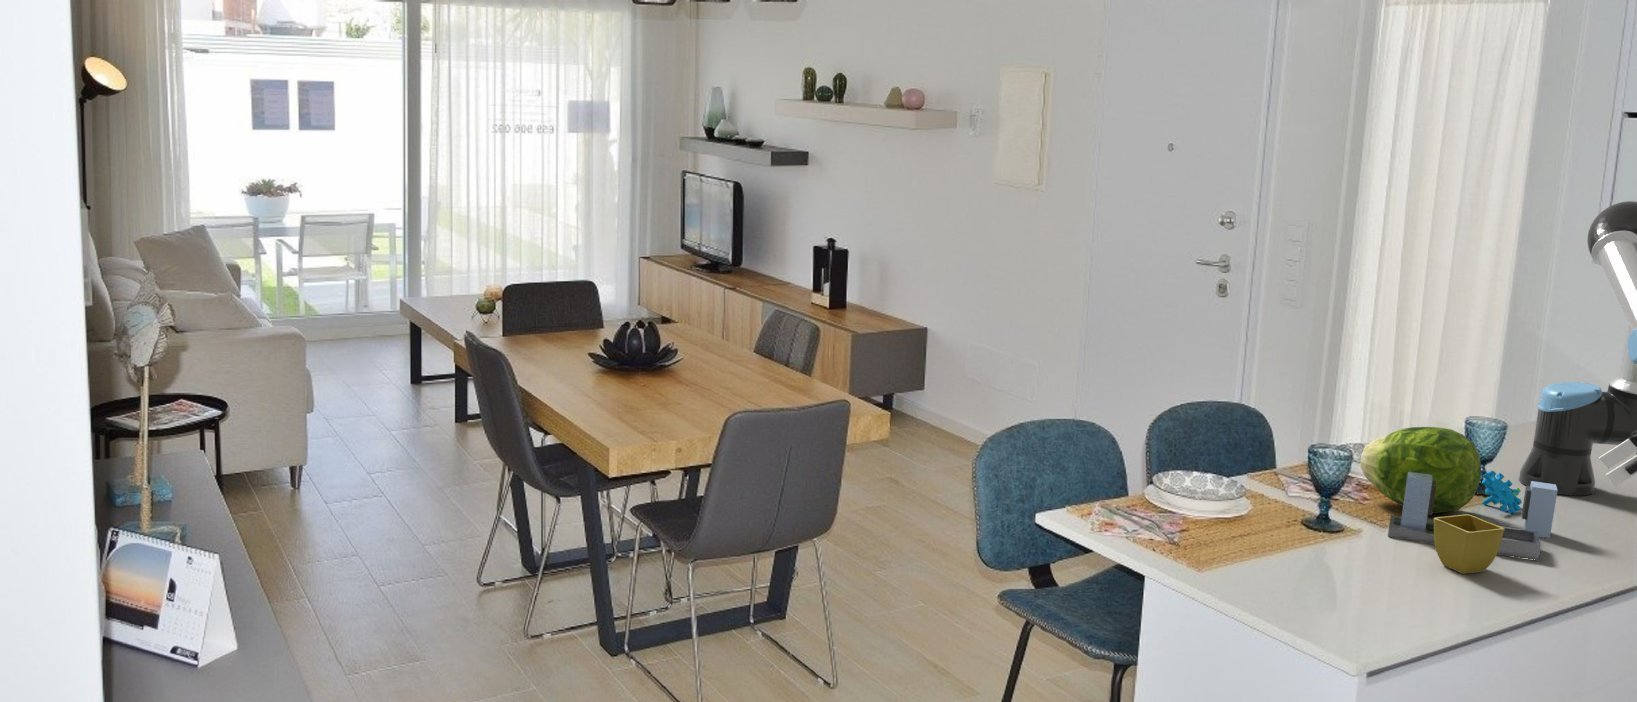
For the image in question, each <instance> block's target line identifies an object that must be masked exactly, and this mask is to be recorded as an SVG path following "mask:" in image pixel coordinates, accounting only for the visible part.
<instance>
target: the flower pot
mask: <svg viewBox="0 0 1637 702" xmlns="http://www.w3.org/2000/svg"><path fill="white" fill-rule="evenodd" d="M1433 522H1434V542H1435V544H1434V548H1435V551H1436V554H1437V556H1438V558H1439V561H1440V562H1441V564H1442V565H1443V566H1445V567H1447V568H1448V569H1451V570H1454V571H1456V572H1457V573H1460V574H1463V575H1465V574H1466V575H1467V574H1474V573H1482V572H1485V571H1486V569H1487V568H1489V567H1490V565H1491V564H1492V563H1493V562H1494V560H1495V559H1496V557H1497V553H1498V550H1499V547H1500V543H1501V540H1502V537H1503V533H1504V530H1505V529H1504V528H1502V527H1500V526H1501V525H1497V524H1495V523H1492V522H1489V521H1486V520H1484V519H1482V518H1480V517H1477V516H1474V515H1471V514H1466V513H1465V514H1457V515H1448V516H1437V517H1433Z"/></svg>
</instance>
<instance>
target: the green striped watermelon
mask: <svg viewBox="0 0 1637 702" xmlns="http://www.w3.org/2000/svg"><path fill="white" fill-rule="evenodd" d="M1481 462H1482V461H1481V456H1480V454H1479V452H1478V450H1477V449H1476V447H1475V445H1474V443H1473V442H1472V441H1471V440H1470V439H1469V438H1467V436H1465V435H1464V434H1462V433H1460V432H1459V431H1458V432H1457V431H1456V430H1454V429H1451V428H1445V427H1438V426H1437V427H1434V426H1411V427H1406V428H1401V429H1398V430H1395V431H1392V432H1391V433H1389V434H1387V435H1385V436H1382V437H1378V438H1376V439H1374V440H1373V441H1370V442H1369V443H1368V444H1367V445H1366V446H1365V447H1364V448H1363V450H1362V453H1361V457H1360V465H1359V466H1360V468H1361V469H1360V470H1361V471H1362V473H1363V475H1364V476H1365V478H1366V480H1367V481H1368V482H1370V483H1371V484H1372V485H1373V486H1375V487H1376V489H1377V490H1378V491H1379V492H1380V493H1381V494H1382V495H1383V496H1385V497H1386V498H1388V499H1389V500H1391V501H1392V502H1394V503H1396V504H1398V505H1401V506H1403V504H1404V497H1405V489H1406V482H1407V475H1408V472H1415V473H1422V474H1428V475H1432V481H1436V490H1435V497H1434V504H1433V511H1432V514H1433V513H1446V512H1447V513H1448V512H1452V511H1453V512H1454V511H1459V510H1461V509H1462V508H1463V507H1464V506H1466V505H1468V504H1469V503H1470V502H1471V501H1472V499H1473V498H1474V496H1475V494H1476V491H1477V490H1478V488H1479V485H1480V482H1481V478H1482V477H1481V476H1482V474H1481V473H1482V467H1481V466H1482V463H1481Z"/></svg>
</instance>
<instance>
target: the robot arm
mask: <svg viewBox="0 0 1637 702" xmlns="http://www.w3.org/2000/svg"><path fill="white" fill-rule="evenodd" d="M1587 248H1588V251H1589V254H1590V255H1591V258H1592V260H1593V261H1594V263H1595V264H1597V266H1598V265H1599V266H1600V267H1602V269H1603V270H1604V273H1605V274H1606V277H1607V279H1608V281H1609V283H1610V285H1611V287H1612V289H1613V291H1614V294H1615V296H1616V298H1617V300H1618V302H1619V305H1620V306H1621V307H1620V308H1621V309H1622V311H1623V313H1624V316H1625V317H1626V318H1627V321H1628V326H1627V331H1626V337H1625V341H1624V346H1623V351H1622V358H1621V362H1620V365H1619V366H1620V367H1619V372H1618V376H1616V377H1614V378H1613V379H1612V380H1609V383H1608V385H1607V391H1602V388H1601V387H1600V386H1599V385H1597V384H1594V383H1589V382H1580V381H1568V382H1567V381H1564V382H1557V383H1552V384H1549V385H1547V386H1545V387H1544V388H1543V389H1542V391H1541V395H1540V399H1539V402H1538V405H1537V407H1538V409H1537V417H1536V423H1535V429H1534V437H1533V443H1532V448H1531V449H1530V450H1531V451H1530V452H1529V454H1528V455H1527V458H1526V460H1525V461H1524V463H1523V465H1522V466H1521V468H1520V471H1519V476H1518V481H1519V482H1520V483H1521V484H1522V485H1525V487H1526V486H1530V484H1531V481H1535V482H1542V483H1549V484H1556V487H1557V490H1558V491H1557V495H1563V496H1564V495H1565V496H1589V495H1592V494H1594V493H1595V487H1596V480H1595V474H1594V468H1593V465H1592V464H1593V462H1592V457H1591V456H1592V450H1593V445H1594V444H1599V445H1613V446H1615V447H1613V448H1611V449H1610V450H1607V452H1605V453H1604V454H1602V455H1600V456H1599V457H1598V458H1599V460H1600V461H1601V462H1602V464H1604V465H1605V467H1606V468H1607V469H1608V470H1609V469H1610V468H1612V467H1614V466H1616V465H1618V464H1619V463H1620V462H1622V461H1624V460H1625V459H1627V458H1628V457H1630V456H1631V455H1633V454H1636V455H1634V456H1633V457H1632V458H1629V459H1627V461H1625V462H1623V463H1621V464H1620V465H1618V466H1617V467H1615V468H1614V469H1612V470H1610V471H1609V472H1607V473H1605V476H1606V477H1607V478H1608V479H1609V480H1610V482H1611V483H1612V484H1613V485H1614V486H1615V487H1617V486H1619V485H1620V484H1622V483H1624V482H1626V481H1627V480H1629V479H1631V477H1632V478H1633V476H1635V475H1636V474H1637V201H1636V200H1635V201H1634V200H1633V201H1632V200H1629V201H1622V202H1617V203H1615V204H1612V205H1610V206H1608V207H1606V208H1605V209H1604V210H1603V211H1601V212H1600V213H1599V214H1597V216H1596V217H1595V218H1594V219H1593V221H1592V222H1591V224H1590V227H1589V229H1588V233H1587Z"/></svg>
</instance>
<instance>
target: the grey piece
mask: <svg viewBox="0 0 1637 702" xmlns="http://www.w3.org/2000/svg"><path fill="white" fill-rule="evenodd" d="M1435 490H1436V481H1432V475H1428V474H1422V473H1415V472H1408V475H1407V482H1406V489H1405V497H1404V504H1403V505H1402V512H1401V513H1402V514H1401V515H1396V514H1395V515H1394V514H1390V516H1389V517H1390V518H1389V525H1388V534H1387V537H1389V538H1392V539H1393V538H1394V539H1399V540H1405V541H1406V540H1407V541H1413V542H1418V543H1425V544H1430V545H1435V542H1434V520H1433V521H1432V520H1428V516H1433V513H1432V511H1433V504H1434V497H1435ZM1499 526H1500V527H1502V528H1504V529H1505V530H1504V533H1503V537H1502V540H1501V543H1500V547H1499V550H1498V553H1497V554H1500V555H1499V556H1503V555H1505V556H1504V557H1509V556H1514V557H1513V558H1515V557H1520V558H1519V559H1521V558H1528V559H1533V560H1534V559H1535V560H1538V561H1539V560H1540V559H1539V558H1540V553H1541V546H1542V545H1541V540H1540V537H1539V534H1538V532H1535V531H1528V530H1524V529H1522V528H1516V527H1515V528H1514V527H1509V526H1502V525H1499ZM1533 560H1532V561H1533Z"/></svg>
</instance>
